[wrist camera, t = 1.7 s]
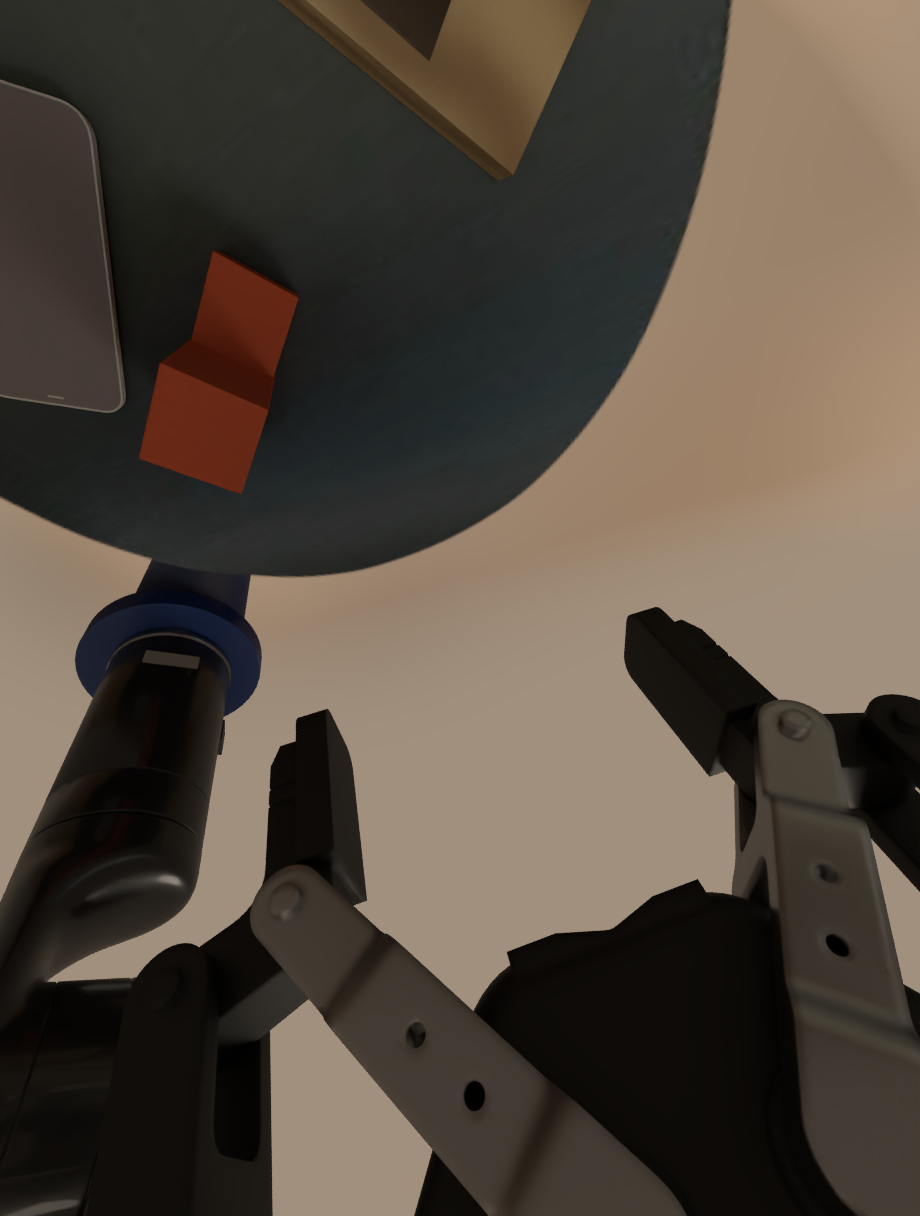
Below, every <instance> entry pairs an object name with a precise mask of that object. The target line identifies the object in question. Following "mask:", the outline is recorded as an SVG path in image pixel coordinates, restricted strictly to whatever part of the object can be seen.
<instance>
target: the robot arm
mask: <svg viewBox="0 0 920 1216" xmlns="http://www.w3.org/2000/svg"><path fill="white" fill-rule="evenodd" d="M624 660H625V664H626V668H627V670H628V672H629V675H630V676H631V678H632V679H633V681H634V682H635V683H636V684H637V686H638V687H639V688H640V689H641V691H642V692H643V693H644V695H645V696H646V697H647V698H648V700H649V701H650V702H651V703H652V705H653V706H654V707H655V708H656V710H657V711H658V712H659V713H660V715H661V716H662V717H663V719H664V720H665V721H666V722H667V724H668V725H669V726H670V727H671V729H672V730H673V731H674V732H675V734H676V735H677V736H678V737H679V739H680V740H681V741H682V743H683V744H684V745H685V746H686V748H687V749H688V750H689V751H690V753H691V754H692V755H693V756H694V758H695V759H696V760H697V761H698V763H699V764H700V765H701V767H702V768H703V769H704V770H705V772H706V773H707V774H708V775H709V776H713V775H716V774H718V773H721V772H724V771H726V772H727V773H728V774H729V775H730V776H731V778H732V779H733V780H734V781H735V786H734V797H735V844H736V845H735V846H736V860H735V870H734V876H733V883H732V895H729V894H724V893H713V892H707V893H706V892H705V890H704V888H703V887H702V885H701V884H700V882H699V880H698V879H697V880H694V881H692V882H689V883H686V884H684V885H681V886H678V887H676V888H673V889H671V890H668V891H665V892H663V893H660V894H658V895H655V896H652V897H651V898H650V899H649V900H648V901H647V902H645V903H644V904H643V905H641V906H640V907H639V908H638V909H637V910H635V911H634V912H633V913H632V914H630V915H629V916H628V917H627V918H626V919H625V920H623V921H622V922H621V923H620V924H618V925H617V926H616V927H614V928H613V929H610V930H604V931H588V932H571V933H555V934H553V935H550V936H548V937H545V938H542V939H540V940H537V941H534V942H532V943H529V944H526V945H524V946H521V947H519V948H516V949H513V950H511V951H508V952H507V955H508V958H509V962H510V966H509V967H507V968H506V969H505V970H504V971H502V972H501V973H500V974H499V975H498V976H497V977H496V978H495V979H494V980H493V981H492V983H491V984H490V985H489V986H488V988H487V989H486V991H485V992H484V993H483V995H482V996H481V998H480V1000H479V1002H478V1004H477V1005H476V1007H475V1009H474V1011H472V1010H471V1009H470V1008H469V1007H468V1006H467V1005H466V1004H465V1003H464V1002H463V1001H461V999H459V998H458V997H457V996H456V995H455V994H454V993H453V992H452V991H451V990H450V989H448V988H447V987H446V986H445V985H444V984H443V983H442V982H441V981H440V980H439V979H438V978H437V977H435V976H434V975H433V974H432V973H431V972H430V971H429V970H428V969H427V968H426V967H425V966H424V965H422V964H421V963H420V962H419V961H418V960H417V959H416V958H415V957H413V955H411V954H410V953H409V952H408V951H407V950H406V949H405V948H404V947H403V946H402V945H400V943H398V942H397V941H396V940H395V939H393V938H392V937H391V936H390V935H388V934H384V933H383V932H381V931H380V930H379V929H378V928H376V926H375V925H373V924H372V923H371V922H370V921H369V920H368V919H367V918H366V917H365V916H364V915H363V914H362V913H360V912H359V911H358V910H357V909H356V908H355V907H354V905H356V904H359V903H361V902H364V901H367V897H366V887H365V878H364V869H363V859H362V850H361V841H360V832H359V822H358V814H357V804H356V794H355V785H354V775H353V767H352V762H351V758H350V755H349V751H348V749H347V746H346V744H345V742H344V740H343V738H342V736H341V734H340V731H339V729H338V727H337V725H336V723H335V721H334V719H333V717H332V715H331V713H330V711H329V710H328V709H326V710H322V711H319V712H316V713H312V714H309V715H306V716H303V717H299V718H297V720H296V741H295V742H292V743H289V744H286V745H283V746H280V748H279V751H278V753H277V755H276V757H275V759H274V761H273V763H272V765H271V774H270V789H271V791H270V792H269V793H270V794H269V805H270V808H269V812H268V831H267V850H266V868H265V869H266V870H265V877H264V881H263V884H262V886H261V888H260V890H259V891H258V893H257V894H256V896H255V899H254V901H253V903H252V905H251V906H250V907H249V908H248V910H247V911H246V912H245V913H244V914H243V915H242V916H241V917H240V918H239V919H238V920H237V921H235V922H234V923H233V924H231V925H230V926H229V927H227V928H226V929H224V930H223V931H221V932H220V933H219V934H217V935H216V936H214V937H213V938H212V939H210V940H209V941H207V942H206V943H204V944H203V945H202V946H200V947H198V946H196V945H193V944H189V943H182V944H177V945H174V946H171V947H169V948H167V949H165V950H164V951H162V952H161V953H159V954H158V955H157V956H156V957H154V958H153V959H152V960H151V961H150V962H149V963H148V964H147V965H146V966H145V967H144V968H143V970H142V971H141V972H140V973H139V975H138V976H137V977H135V978H132V979H131V978H114V979H96V980H79V981H78V980H77V981H60V982H58V983H56V982H47V981H48V980H49V979H50V978H51V977H53V976H54V975H56V974H57V973H59V972H60V971H62V970H63V969H65V968H67V967H68V966H70V965H72V964H73V963H75V962H77V961H79V960H81V959H83V958H85V957H87V956H89V955H91V954H93V953H95V952H98V951H100V950H102V949H105V948H108V947H110V946H113V945H116V944H119V943H122V942H124V941H127V940H129V939H132V938H135V937H138V936H140V935H143V934H145V933H147V932H149V931H152V930H154V929H155V928H157V927H159V926H161V925H162V924H164V923H166V922H167V921H169V920H170V919H171V918H173V917H174V916H175V915H177V914H178V913H179V912H180V911H181V910H182V909H183V908H184V907H185V905H186V904H187V903H188V901H189V900H190V898H191V896H192V894H193V892H194V889H195V887H196V883H197V879H198V874H199V867H200V862H201V854H202V846H203V840H204V834H205V828H206V821H207V815H208V809H209V801H210V796H211V789H212V783H213V777H214V771H215V765H216V759H217V755H221V754H222V749H223V742H224V736H225V720H223V717H224V711H225V706H226V700H227V693H228V689H229V686H230V682H231V676H232V667H231V663H230V660H229V658H228V656H227V655H226V653H225V652H224V651H223V650H222V648H221V647H219V646H218V645H217V644H216V643H215V642H213V641H212V640H210V639H208V638H207V637H205V636H202V635H200V634H198V633H195V632H191V631H188V630H183V629H176V628H157V629H150V630H146V631H142V632H139V633H136V634H134V635H132V636H130V637H128V638H127V639H125V640H124V641H123V642H121V643H120V644H119V645H118V646H117V647H116V649H115V650H114V652H113V653H112V655H111V658H110V660H109V662H108V665H107V670H106V672H105V674H104V676H103V678H102V681H101V683H100V684H99V686H98V689H97V691H96V693H95V695H94V697H93V699H92V702H91V704H90V706H89V708H88V711H87V713H86V715H85V717H84V719H83V721H82V724H81V725H80V728H79V730H78V732H77V734H76V736H75V738H74V741H73V743H72V745H71V747H70V749H69V751H68V754H67V756H66V758H65V760H64V762H63V764H62V767H61V769H60V771H59V773H58V775H57V777H56V779H55V782H54V784H53V786H52V788H51V790H50V792H49V794H48V797H47V799H46V801H45V804H44V806H43V808H42V810H41V812H40V815H39V817H38V819H37V821H36V824H35V826H34V828H33V830H32V832H31V834H30V836H29V838H28V841H27V843H26V845H25V847H24V850H23V851H22V854H21V856H20V858H19V860H18V863H17V865H16V867H15V869H14V872H13V874H12V876H11V879H10V881H9V883H8V886H7V888H6V891H5V893H4V895H3V898H2V900H1V902H0V1216H272V1151H271V1150H272V1148H271V1076H270V1075H271V1074H270V1030H271V1029H272V1028H273V1027H275V1026H276V1025H277V1024H278V1023H280V1022H281V1021H282V1020H283V1019H285V1018H286V1017H287V1016H288V1015H289V1014H291V1013H292V1012H293V1011H294V1010H296V1009H297V1008H298V1007H299V1006H300V1005H302V1004H303V1003H304V1002H305V1001H307V1000H308V999H309V1000H310V1001H311V1002H312V1003H313V1004H314V1006H315V1007H316V1008H317V1009H318V1010H319V1012H320V1013H321V1014H322V1016H323V1017H324V1020H325V1022H326V1023H327V1024H328V1026H329V1027H330V1028H331V1030H332V1031H333V1032H334V1033H335V1034H336V1036H337V1037H338V1038H339V1039H340V1040H341V1042H342V1043H343V1044H344V1045H345V1046H346V1048H347V1049H348V1050H349V1051H350V1052H351V1053H352V1055H353V1056H354V1057H355V1058H356V1059H357V1061H358V1062H359V1063H360V1064H361V1065H362V1066H363V1067H364V1069H365V1070H366V1071H367V1072H368V1074H369V1075H370V1076H371V1077H372V1078H373V1079H374V1081H375V1082H376V1083H377V1084H378V1085H379V1087H380V1088H381V1089H382V1090H383V1091H384V1092H385V1094H386V1095H387V1096H388V1097H389V1098H390V1099H391V1101H392V1102H393V1103H394V1104H395V1105H396V1107H397V1108H398V1109H399V1110H400V1111H401V1113H402V1114H403V1115H404V1116H405V1117H406V1118H407V1120H408V1121H409V1122H410V1123H411V1124H412V1126H413V1127H414V1128H415V1129H416V1130H417V1132H418V1133H419V1134H420V1135H421V1136H422V1137H423V1139H424V1140H425V1141H426V1142H427V1143H428V1145H429V1146H430V1147H431V1148H432V1149H433V1151H432V1154H431V1158H430V1161H429V1165H428V1168H427V1172H426V1176H425V1179H424V1183H423V1187H422V1190H421V1194H420V1197H419V1201H418V1205H417V1208H416V1212H415V1215H414V1216H920V993H918V992H916V991H914V990H913V989H911V988H909V987H907V986H906V985H904V984H903V980H902V976H901V971H900V967H899V963H898V958H897V954H896V949H895V945H894V940H893V936H892V931H891V927H890V922H889V918H888V914H887V909H886V904H885V900H884V895H883V891H882V886H881V882H880V877H879V873H878V869H877V864H876V859H875V855H874V851H873V846H872V842H871V839H872V840H873V841H874V842H875V843H876V844H877V845H878V846H879V847H880V849H881V850H882V851H883V852H884V853H885V854H886V855H887V856H888V857H889V859H890V860H891V861H892V862H893V863H894V864H895V865H896V866H897V867H898V868H899V869H900V871H901V872H902V873H903V874H904V875H905V876H906V877H907V878H908V879H909V881H910V882H911V883H912V884H913V885H914V886H915V887H916V888H917V889H918V890H919V891H920V793H919V792H917V791H916V790H915V788H916V787H917V788H919V789H920V700H918V699H915V698H912V697H908V696H903V695H894V694H890V695H882V696H878V697H876V698H874V699H873V700H872V701H871V702H870V703H869V705H868V707H867V709H866V711H865V713H841V714H822V713H820V712H819V711H817V710H816V709H814V708H812V707H810V706H808V705H806V704H803V703H800V702H797V701H792V700H778V699H777V698H776V697H775V696H773V695H772V694H771V693H770V692H769V691H768V690H767V689H766V688H765V687H764V686H763V685H761V684H760V683H759V682H758V681H757V680H756V679H755V678H754V677H753V676H752V675H751V674H749V673H748V672H747V671H746V670H745V669H744V668H743V667H742V666H741V665H740V664H739V663H738V662H737V661H735V660H734V659H733V658H732V657H731V656H730V657H729V656H728V653H727V652H726V651H725V650H723V649H722V648H721V647H720V646H719V645H718V646H717V645H716V642H715V641H714V640H712V638H710V637H709V636H708V635H707V634H706V633H705V632H704V631H703V630H702V629H700V628H698V627H696V626H694V625H691V624H689V623H687V622H686V621H683V620H679V621H676V622H674V621H673V620H672V619H671V618H670V617H669V616H668V615H667V614H666V613H665V612H664V611H663V610H662V609H660V608H658V607H654V608H651V609H648V610H644V611H641V612H638V613H635V614H631V615H629V616H628V618H627V622H626V636H625V650H624Z"/></svg>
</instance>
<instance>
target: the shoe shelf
mask: <svg viewBox="0 0 920 1216" xmlns="http://www.w3.org/2000/svg"><path fill="white" fill-rule="evenodd" d="M277 1H279V2H280V3H281V4H282V5H284V6H285V7H286V8H287V9H288V10H290V11H291V12H292V13H293V14H295V15H296V16H297V17H298V18H299V19H301V20H302V21H303V22H304V23H305V24H307V25H308V26H309V27H310V28H312V29H313V30H314V31H315V32H316V33H318V34H319V35H320V36H321V37H323V38H324V39H325V40H326V41H327V42H329V43H330V44H331V45H332V46H334V47H335V48H336V49H337V50H338V51H340V52H341V53H342V54H343V55H345V56H346V57H347V58H348V59H349V60H351V61H352V62H353V63H354V64H356V65H357V66H358V67H359V68H360V69H362V70H363V71H364V72H365V73H366V74H368V75H369V76H370V77H371V78H373V79H374V80H375V81H376V82H377V83H379V84H380V85H381V86H382V87H384V88H385V89H386V90H387V91H388V92H390V93H391V94H392V95H393V96H395V97H396V98H397V99H398V100H399V101H401V102H402V103H403V104H404V105H406V106H407V107H408V108H409V109H410V110H412V111H413V112H414V113H415V114H417V115H418V116H419V117H420V118H421V119H423V120H424V121H425V122H426V123H427V124H429V125H430V126H431V127H432V128H434V129H435V130H436V131H437V132H438V133H440V134H441V135H442V136H443V137H445V138H446V139H447V140H448V141H449V142H451V143H452V144H453V145H454V146H456V147H457V148H458V149H459V150H460V151H462V152H463V153H464V154H465V155H467V156H468V157H469V158H470V159H471V160H473V161H474V162H475V163H476V164H477V165H479V166H480V167H481V168H482V169H484V170H485V171H486V172H487V173H488V174H490V175H491V176H492V177H493V178H495V179H496V180H497V181H498V180H501V179H503V178H506V177H509V176H511V175H513V174H514V173H515V170H516V168H517V166H518V164H519V161H520V159H521V157H522V155H523V152H524V150H525V148H526V146H527V143H528V141H529V139H530V137H531V134H532V132H533V130H534V128H535V125H536V123H537V121H538V119H539V117H540V114H541V112H542V110H543V108H544V105H545V103H546V101H547V99H548V96H549V94H550V92H551V90H552V87H553V85H554V83H555V81H556V78H557V76H558V74H559V72H560V69H561V67H562V65H563V63H564V60H565V58H566V56H567V54H568V52H569V49H570V47H571V45H572V43H573V40H574V38H575V36H576V34H577V31H578V29H579V27H580V25H581V22H582V20H583V18H584V16H585V13H586V11H587V9H588V7H589V4H590V2H591V0H277Z"/></svg>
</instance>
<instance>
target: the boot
mask: <svg viewBox="0 0 920 1216" xmlns="http://www.w3.org/2000/svg"><path fill="white" fill-rule="evenodd" d="M297 301H298V294H296V293H295V292H293V291H291V290H289V289H288V288H286V287H284V286H282V285H280V284H279V283H277V282H275V281H273V280H271V279H270V278H268V277H266V276H264V275H262V274H261V273H259V272H257V271H255V270H253V269H252V268H250V267H248V266H246V265H244V264H243V263H241V262H239V261H237V260H235V259H234V258H232V257H230V256H228V255H227V254H225V253H223V252H221V251H213V252H212V256H211V260H210V265H209V269H208V273H207V277H206V281H205V285H204V289H203V294H202V298H201V302H200V306H199V310H198V314H197V318H196V323H195V327H194V331H193V335H192V338H191V339H190V340H189V341H188V342H186V343H185V344H184V345H182V346H181V347H180V348H179V349H177V350H176V351H175V352H173V353H172V354H171V355H170V356H168V357H167V358H166V359H164V360H163V361H162V362H161V363H160V364H159V369H158V373H157V378H156V383H155V387H154V392H153V396H152V401H151V405H150V410H149V415H148V419H147V424H146V428H145V433H144V437H143V442H142V446H141V451H140V456H139V458H140V459H142V460H145V461H148V462H151V463H154V464H156V465H159V466H162V467H165V468H168V469H171V470H174V471H176V472H179V473H182V474H185V475H188V476H191V477H194V478H196V479H199V480H202V481H205V482H208V483H211V484H214V485H216V486H219V487H222V488H225V489H228V490H231V491H234V492H236V493H239V494H241V493H242V491H243V488H244V485H245V482H246V479H247V475H248V472H249V469H250V466H251V463H252V460H253V457H254V454H255V451H256V448H257V445H258V441H259V438H260V435H261V432H262V429H263V426H264V423H265V420H266V417H267V414H268V410H269V405H270V400H271V395H272V389H273V384H274V379H275V374H276V367H277V364H278V361H279V358H280V355H281V352H282V349H283V345H284V342H285V339H286V336H287V333H288V330H289V327H290V323H291V320H292V317H293V314H294V311H295V308H296V305H297Z"/></svg>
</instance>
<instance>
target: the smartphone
mask: <svg viewBox="0 0 920 1216" xmlns="http://www.w3.org/2000/svg"><path fill="white" fill-rule="evenodd" d="M0 396H2V397H6V398H12V399H18V400H25V401H32V402H38V403H45V404H51V405H58V406H65V407H71V408H78V409H85V410H91V411H98V412H106V413H110V412H114V411H117V410H118V409H119V408H121V407H122V406H123V405H124V403H125V400H126V391H125V382H124V374H123V365H122V356H121V348H120V339H119V331H118V322H117V313H116V305H115V296H114V288H113V279H112V270H111V262H110V253H109V245H108V236H107V227H106V219H105V210H104V201H103V193H102V184H101V176H100V167H99V158H98V150H97V142H96V137H95V133H94V130H93V128H92V126H91V124H90V123H89V121H88V120H87V118H86V117H85V116H84V115H83V114H82V113H81V112H80V111H79V110H77V109H76V108H75V107H73V106H72V105H70V104H69V103H67V102H65V101H63V100H61V99H58V98H55V97H52V96H49V95H46V94H43V93H40V92H37V91H34V90H31V89H28V88H24V87H21V86H18V85H15V84H12V83H9V82H6V81H3V80H0Z"/></svg>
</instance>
